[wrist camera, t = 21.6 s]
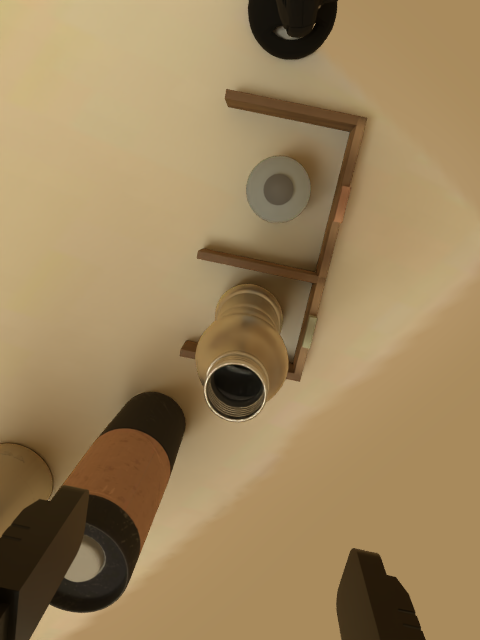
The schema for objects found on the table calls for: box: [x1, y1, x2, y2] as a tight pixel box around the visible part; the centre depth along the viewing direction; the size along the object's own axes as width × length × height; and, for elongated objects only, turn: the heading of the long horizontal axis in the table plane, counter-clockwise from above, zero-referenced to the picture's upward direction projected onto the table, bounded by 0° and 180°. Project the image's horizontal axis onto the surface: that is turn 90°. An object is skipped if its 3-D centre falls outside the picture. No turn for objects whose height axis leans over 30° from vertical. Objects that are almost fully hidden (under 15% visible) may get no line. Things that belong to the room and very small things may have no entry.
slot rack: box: [180, 89, 367, 382], centre depth 39 cm, size 24×12×4 cm, turn 169°
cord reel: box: [246, 156, 311, 223], centre depth 37 cm, size 5×5×7 cm
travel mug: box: [49, 392, 185, 613], centre depth 37 cm, size 8×8×20 cm
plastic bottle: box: [195, 284, 288, 422], centre depth 33 cm, size 6×7×20 cm
